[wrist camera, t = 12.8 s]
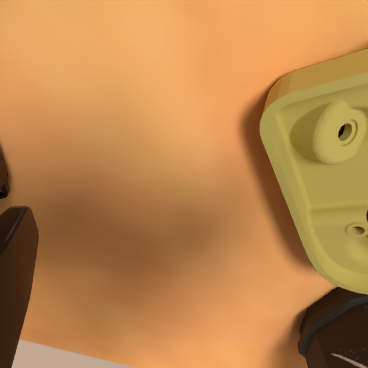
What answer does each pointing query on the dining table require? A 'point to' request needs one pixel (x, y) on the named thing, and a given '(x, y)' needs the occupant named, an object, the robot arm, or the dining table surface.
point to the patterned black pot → (336, 331)
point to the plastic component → (324, 162)
